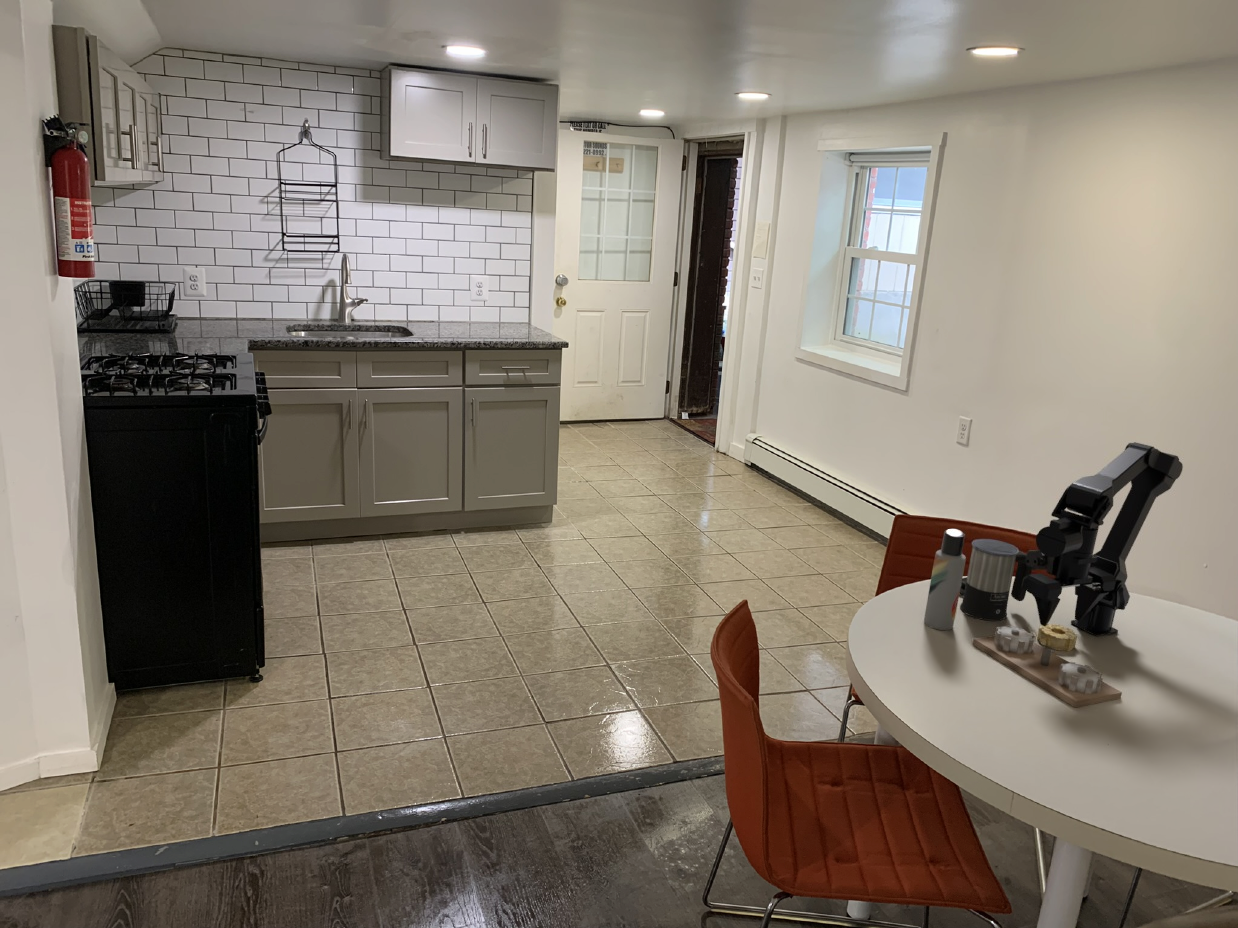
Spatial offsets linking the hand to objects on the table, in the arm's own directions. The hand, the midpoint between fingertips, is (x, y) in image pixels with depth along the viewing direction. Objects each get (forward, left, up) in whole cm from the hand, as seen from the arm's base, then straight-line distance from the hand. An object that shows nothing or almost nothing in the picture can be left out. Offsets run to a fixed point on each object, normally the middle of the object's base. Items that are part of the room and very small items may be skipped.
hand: (1060, 622), depth 180 cm
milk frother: (+2, -19, -5) cm, 20 cm away
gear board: (+12, +8, -4) cm, 15 cm away
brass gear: (0, 0, -4) cm, 4 cm away
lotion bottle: (+18, -13, -5) cm, 23 cm away
